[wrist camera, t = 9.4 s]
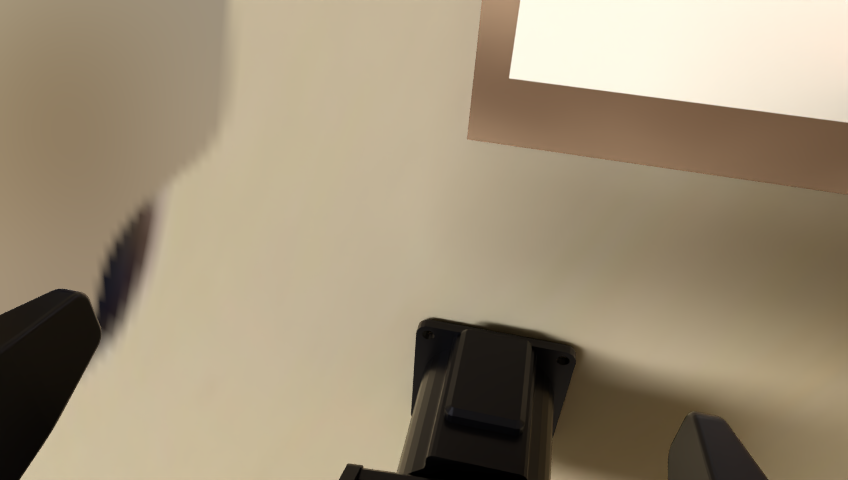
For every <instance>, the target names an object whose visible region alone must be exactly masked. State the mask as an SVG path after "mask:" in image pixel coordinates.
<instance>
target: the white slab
mask: <svg viewBox="0 0 848 480" xmlns="http://www.w3.org/2000/svg"><path fill="white" fill-rule="evenodd" d="M509 78H510V79H518V80H526V81H533V82H541V83H549V84H556V85H564V86H571V87H579V88H587V89H594V90H602V91H610V92H617V93H625V94H633V95H640V96H648V97H656V98H663V99H671V100H679V101H686V102H694V103H702V104H709V105H717V106H724V107H732V108H740V109H747V110H755V111H763V112H770V113H778V114H786V115H793V116H801V117H809V118H816V119H824V120H832V121H839V122H847V123H848V0H520V6H519V13H518V20H517V27H516V34H515V40H514V47H513V54H512V61H511V68H510V75H509Z"/></svg>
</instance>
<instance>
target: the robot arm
mask: <svg viewBox="0 0 848 480" xmlns="http://www.w3.org/2000/svg"><path fill="white" fill-rule="evenodd" d="M427 331H431V332H432V333H429V332H427ZM100 339H101V327H100V324H99V322H98V319H97V317H96V314H95V312H94V309H93V307H92V304H91V302H90V299H89V298H88V296H87V295H86V294H84V293H82V292H78V291H73V290H67V289H56V290H53V291H51V292H49V293H46V294H44V295H42V296H40V297H38V298H36V299H34V300H31V301H29V302H27V303H25V304H23V305H20V306H18V307H16V308H14V309H12V310H10V311H8V312H5V313H3V314H1V315H0V480H20V478H21V477H22V475H23V474H24V472H25V471H26V469H27V468H28V467H29V465H30V464H31V462H32V461H33V459H34V458H35V456H36V455H37V453H38V452H39V450H40V449H41V447H42V446H43V444H44V443H45V441H46V439H47V438H48V436H49V435H50V433H51V432H52V430H53V428H54V426H55V425H56V423H57V421H58V420H59V418H60V416H61V414H62V412H63V410H64V409H65V407H66V405H67V403H68V401H69V399H70V397H71V396H72V394H73V392H74V390H75V388H76V386H77V384H78V383H79V381H80V379H81V377H82V375H83V373H84V371H85V370H86V368H87V366H88V364H89V362H90V360H91V358H92V356H93V355H94V353H95V351H96V349H97V347H98V345H99V343H100ZM560 356H565V357H566V358H562V357H560ZM575 364H576V352H575V350H574V349H573V348H572V347H570V346H568V345H564V344H558V343H553V342H548V341H542V340H537V339H532V338H526V337H521V336H515V335H510V334H505V333H499V332H494V331H489V330H483V329H478V328H472V327H467V326H462V325H456V324H451V323H446V322H440V321H435V320H423V321H421V322H420V323H419V326H418V329H417V332H416V346H415V362H414V377H413V393H412V409H411V416H412V418H411V421H410V425H409V429H408V433H407V436H406V440H405V444H404V448H403V451H402V455H401V459H400V463H399V466H398V470H397V473H395V472H387V471H380V470H373V469H366V468H363V465H356V464H347V466H346V468H345V470H344V471H343V473H342V475H341V477H340V479H339V480H550V478H551V455H552V438H553V435H554V431H555V428H556V425H557V422H558V419H559V415H560V412H561V409H562V406H563V402H564V399H565V396H566V393H567V390H568V386H569V383H570V380H571V377H572V373H573V370H574V367H575ZM668 480H768V479H767V477H766V476H765V475H764V473H763V472H762V470H761V469H760V468H759V466H758V465H757V464H756V462H755V461H754V459H753V458H752V457H751V455H750V454H749V453H748V451H747V450H746V448H745V447H744V446H743V444H742V443H741V442H740V440H739V439H738V437H737V436H736V435H735V433H734V432H733V431H732V429H731V428H730V426H729V425H728V424H727V422H726V421H725V420H723V419H722V418H721V417H719V416H715V415H710V414H705V413H700V412H690V413H689V414H688V415H687V416H686V417H685V419H684V421H683V423H682V425H681V427H680V429H679V431H678V433H677V435H676V437H675V438H674V440H673V442H672V444H671V447H670V450H669V456H668Z"/></svg>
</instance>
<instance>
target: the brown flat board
mask: <svg viewBox="0 0 848 480" xmlns="http://www.w3.org/2000/svg"><path fill="white" fill-rule="evenodd" d="M519 6H520V0H482V5H481V15H480V24H479V33H478V43H477V52H476V61H475V70H474V80H473V89H472V98H471V108H470V117H469V126H468V136H467V139H469V140H476V141H483V142H490V143H497V144H504V145H510V146H517V147H524V148H531V149H538V150H545V151H552V152H559V153H566V154H572V155H579V156H586V157H593V158H600V159H607V160H614V161H621V162H627V163H634V164H641V165H648V166H655V167H662V168H669V169H676V170H683V171H689V172H696V173H703V174H710V175H717V176H724V177H731V178H738V179H745V180H751V181H758V182H765V183H772V184H779V185H786V186H793V187H800V188H806V189H813V190H820V191H827V192H834V193H841V194H848V123H847V122H839V121H832V120H824V119H816V118H809V117H801V116H793V115H786V114H778V113H770V112H763V111H755V110H747V109H740V108H732V107H724V106H717V105H709V104H702V103H694V102H686V101H679V100H671V99H663V98H656V97H648V96H640V95H633V94H625V93H617V92H610V91H602V90H594V89H587V88H579V87H571V86H564V85H556V84H549V83H541V82H533V81H526V80H518V79H510V78H509V75H510V68H511V61H512V54H513V47H514V40H515V34H516V27H517V20H518V13H519Z"/></svg>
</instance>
